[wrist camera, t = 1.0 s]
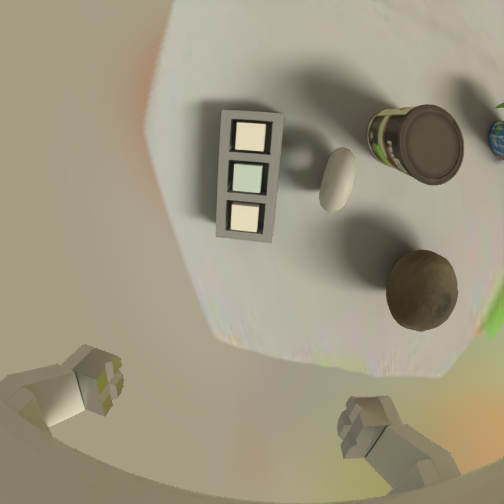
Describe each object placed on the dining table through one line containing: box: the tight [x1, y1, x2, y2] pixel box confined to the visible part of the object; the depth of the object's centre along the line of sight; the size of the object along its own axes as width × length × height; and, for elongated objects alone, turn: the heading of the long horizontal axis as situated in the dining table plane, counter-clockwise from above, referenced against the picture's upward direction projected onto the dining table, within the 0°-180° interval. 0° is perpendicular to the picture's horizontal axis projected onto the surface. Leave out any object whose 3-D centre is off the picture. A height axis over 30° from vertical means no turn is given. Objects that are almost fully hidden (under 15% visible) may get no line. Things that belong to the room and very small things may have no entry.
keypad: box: [216, 110, 284, 243], centre depth 43 cm, size 20×9×5 cm, turn 176°
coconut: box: [386, 250, 458, 331], centre depth 42 cm, size 14×14×15 cm
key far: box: [231, 201, 260, 232], centre depth 44 cm, size 4×4×2 cm
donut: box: [319, 147, 356, 212], centre depth 39 cm, size 10×3×10 cm, turn 167°
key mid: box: [233, 162, 263, 193], centre depth 41 cm, size 4×4×2 cm
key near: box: [235, 122, 266, 151], centre depth 38 cm, size 4×4×2 cm
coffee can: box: [367, 105, 464, 185], centre depth 33 cm, size 10×10×14 cm
